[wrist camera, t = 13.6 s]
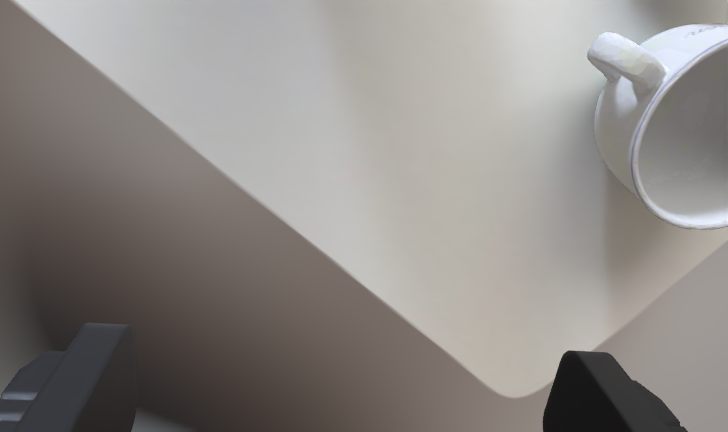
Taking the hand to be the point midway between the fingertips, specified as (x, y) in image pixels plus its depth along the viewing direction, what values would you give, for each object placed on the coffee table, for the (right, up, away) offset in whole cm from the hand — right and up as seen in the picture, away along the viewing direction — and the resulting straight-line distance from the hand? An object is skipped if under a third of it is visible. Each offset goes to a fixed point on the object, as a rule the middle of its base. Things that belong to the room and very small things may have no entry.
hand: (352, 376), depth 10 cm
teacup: (+18, +11, +25) cm, 33 cm away
